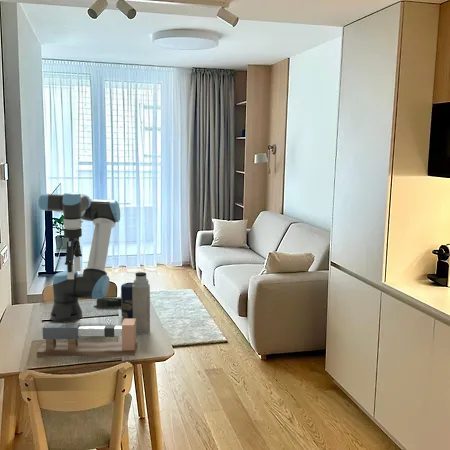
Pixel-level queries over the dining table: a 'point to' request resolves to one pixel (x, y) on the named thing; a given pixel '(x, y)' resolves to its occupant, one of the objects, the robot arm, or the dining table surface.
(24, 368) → the dining table surface
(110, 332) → the telescoping tube
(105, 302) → the dark green bar
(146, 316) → the thermos bottle
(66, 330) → the charcoal sleeve
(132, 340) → the terracotta socket block
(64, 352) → the walnut base board
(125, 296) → the canister
